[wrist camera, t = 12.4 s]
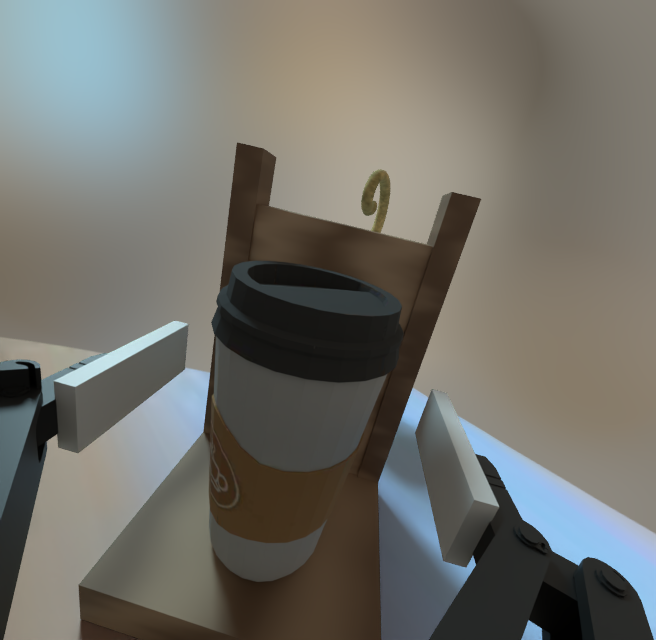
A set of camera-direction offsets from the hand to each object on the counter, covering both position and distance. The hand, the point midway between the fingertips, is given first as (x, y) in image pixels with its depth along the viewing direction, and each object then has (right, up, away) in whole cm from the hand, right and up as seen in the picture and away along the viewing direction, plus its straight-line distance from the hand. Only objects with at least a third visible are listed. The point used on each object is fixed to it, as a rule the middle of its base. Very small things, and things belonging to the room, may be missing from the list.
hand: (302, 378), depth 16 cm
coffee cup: (-2, -9, +2) cm, 10 cm away
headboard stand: (-3, -11, +4) cm, 12 cm away
